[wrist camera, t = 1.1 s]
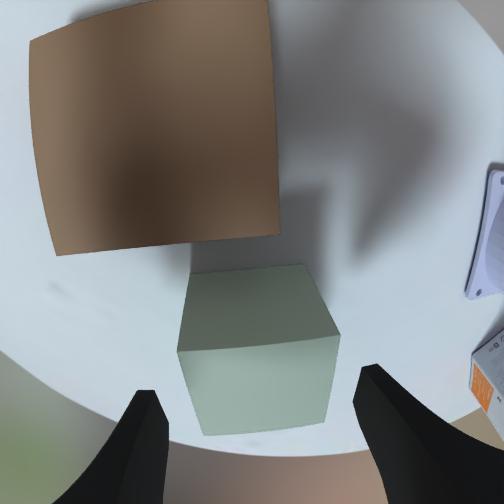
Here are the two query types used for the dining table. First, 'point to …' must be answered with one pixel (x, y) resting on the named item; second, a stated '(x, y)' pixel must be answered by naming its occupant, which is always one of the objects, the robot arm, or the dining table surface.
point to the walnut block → (156, 126)
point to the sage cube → (257, 349)
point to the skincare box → (490, 380)
